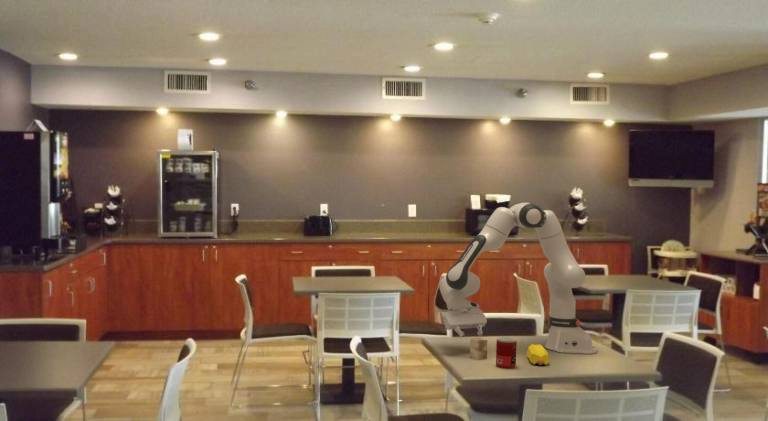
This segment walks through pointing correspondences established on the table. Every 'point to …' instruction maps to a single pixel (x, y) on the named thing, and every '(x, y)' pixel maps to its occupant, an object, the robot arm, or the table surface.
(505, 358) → the canned food
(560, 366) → the table surface
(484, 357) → the beige cylinder
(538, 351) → the yellow lumpy piece
